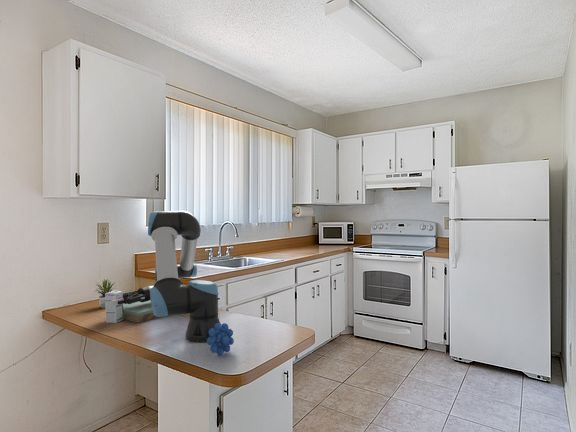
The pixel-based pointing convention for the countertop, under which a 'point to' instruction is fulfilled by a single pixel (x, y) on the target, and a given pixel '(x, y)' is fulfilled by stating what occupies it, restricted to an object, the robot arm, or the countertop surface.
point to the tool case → (139, 317)
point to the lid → (138, 308)
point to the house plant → (106, 290)
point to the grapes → (220, 338)
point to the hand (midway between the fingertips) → (105, 302)
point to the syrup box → (114, 312)
